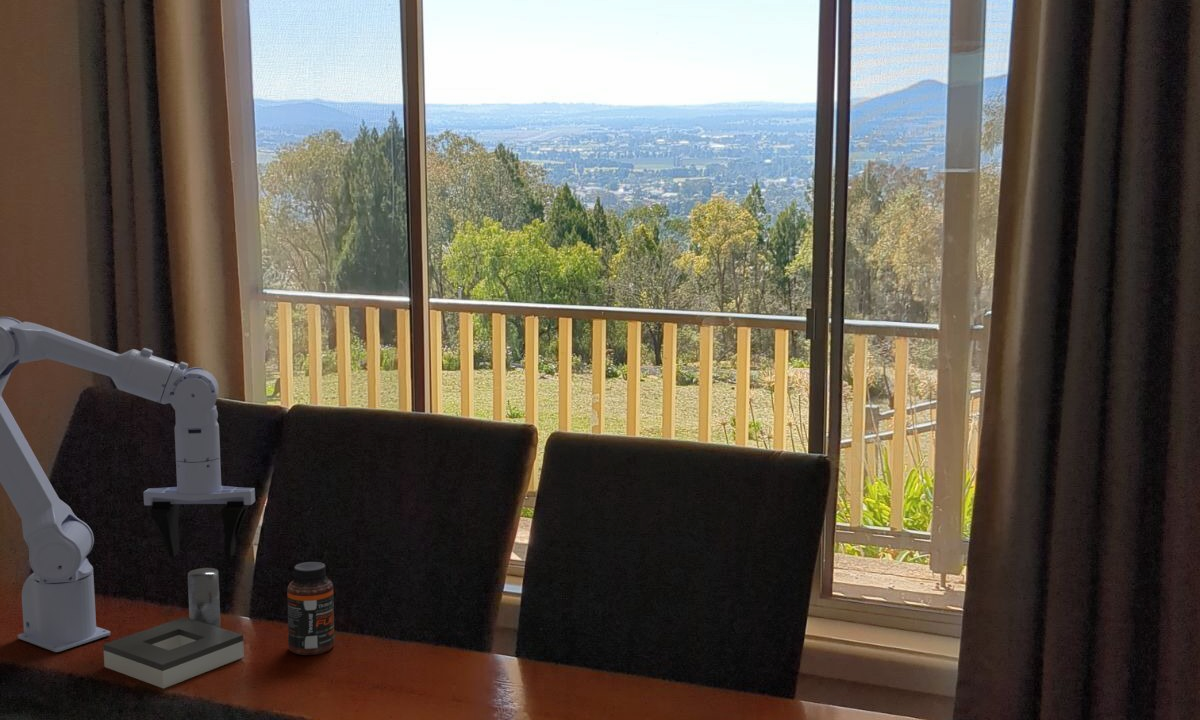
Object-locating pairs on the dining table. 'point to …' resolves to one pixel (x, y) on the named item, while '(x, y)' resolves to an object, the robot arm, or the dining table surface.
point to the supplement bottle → (310, 610)
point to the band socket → (173, 651)
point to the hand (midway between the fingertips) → (202, 555)
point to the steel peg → (204, 596)
